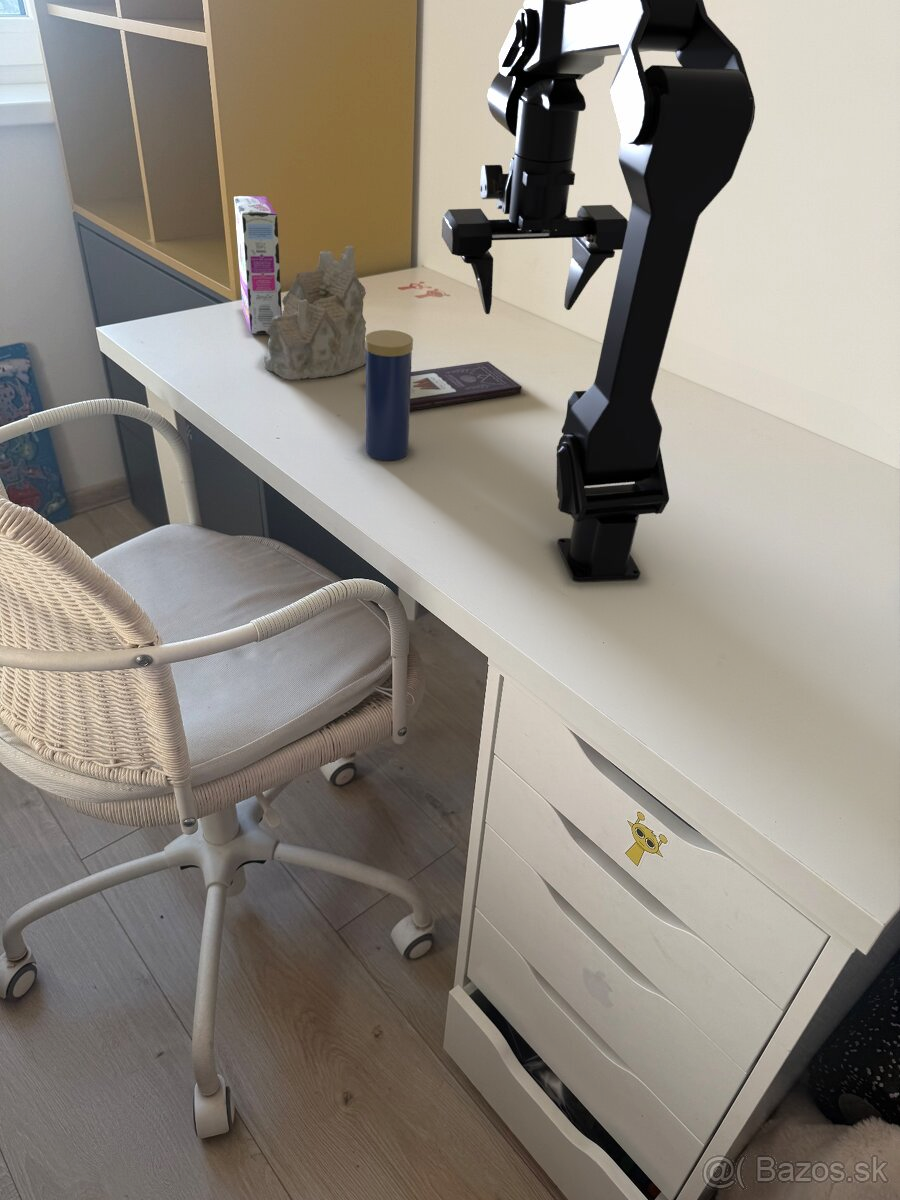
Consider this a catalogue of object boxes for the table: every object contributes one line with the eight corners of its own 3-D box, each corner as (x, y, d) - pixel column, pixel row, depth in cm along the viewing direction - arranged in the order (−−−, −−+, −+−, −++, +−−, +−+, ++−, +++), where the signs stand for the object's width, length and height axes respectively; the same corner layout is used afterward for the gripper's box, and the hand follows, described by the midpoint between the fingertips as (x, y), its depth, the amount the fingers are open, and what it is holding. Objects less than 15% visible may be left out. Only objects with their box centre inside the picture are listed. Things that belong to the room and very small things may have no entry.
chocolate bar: (521, 386, 108) (396, 405, 101) (520, 393, 109) (395, 412, 102) (488, 361, 115) (367, 377, 107) (487, 367, 115) (367, 384, 108)
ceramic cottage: (333, 325, 124) (327, 220, 114) (390, 368, 114) (388, 257, 104) (236, 348, 117) (219, 238, 107) (286, 396, 107) (274, 279, 97)
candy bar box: (285, 334, 121) (278, 213, 111) (250, 335, 120) (240, 213, 110) (274, 309, 129) (267, 194, 119) (242, 310, 128) (231, 194, 118)
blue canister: (411, 461, 92) (415, 347, 84) (366, 461, 92) (366, 347, 84) (406, 440, 96) (410, 330, 88) (363, 441, 95) (363, 329, 88)
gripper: (605, 131, 88) (583, 278, 98) (433, 133, 84) (429, 285, 95) (645, 161, 80) (617, 318, 90) (456, 165, 76) (450, 327, 87)
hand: (527, 310), depth 91 cm, fingers open, 9 cm apart
